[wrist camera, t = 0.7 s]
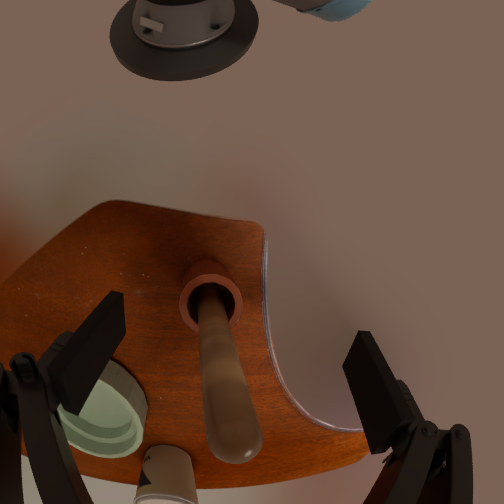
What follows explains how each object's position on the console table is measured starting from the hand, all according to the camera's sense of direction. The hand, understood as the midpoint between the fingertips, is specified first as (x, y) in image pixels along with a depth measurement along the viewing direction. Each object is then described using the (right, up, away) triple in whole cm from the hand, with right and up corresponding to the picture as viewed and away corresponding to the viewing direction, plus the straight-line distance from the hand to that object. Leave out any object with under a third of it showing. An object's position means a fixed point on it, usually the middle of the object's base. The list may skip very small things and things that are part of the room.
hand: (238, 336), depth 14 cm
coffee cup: (-13, -29, +20) cm, 38 cm away
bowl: (-22, -16, +17) cm, 32 cm away
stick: (-4, +1, +17) cm, 18 cm away
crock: (-5, +1, +18) cm, 19 cm away
